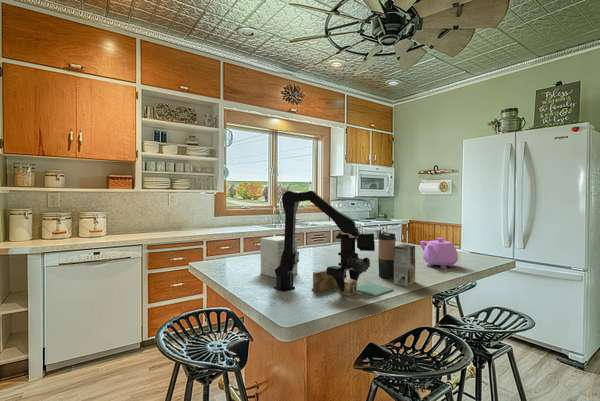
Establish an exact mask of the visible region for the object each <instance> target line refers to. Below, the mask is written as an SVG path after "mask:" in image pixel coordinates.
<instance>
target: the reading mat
mask: <svg viewBox="0 0 600 401" xmlns="http://www.w3.org/2000/svg"><path fill="white" fill-rule="evenodd" d="M393 291H394V288H391V287H388V286H383V285H380V284H376V283H372V282H367V283H363V284H359V285H357V293H361V294H365V295H367V296H372V297H374V298H375V297H379V296H381V295H382V296H383V295H384V294H388V293H389V292H390V293H391V292H393Z"/></svg>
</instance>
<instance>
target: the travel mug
mask: <svg viewBox="0 0 600 401" xmlns="http://www.w3.org/2000/svg"><path fill="white" fill-rule="evenodd" d="M395 246H396V234H395V233H391V232H380V233H378V248H377V249H378V250H377V251H378V255H377V256H378V258H377V259H378V277H379V278H381V279H387V280H391V279H394V247H395Z"/></svg>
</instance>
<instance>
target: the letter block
mask: <svg viewBox="0 0 600 401" xmlns="http://www.w3.org/2000/svg"><path fill="white" fill-rule="evenodd" d="M357 286H358V280H353V279H350V277H346V278H345V279H344V292H341V291H340V289H339V288H338V294H341V295H345V296H353V295H356V294H357V293H358V292H357Z"/></svg>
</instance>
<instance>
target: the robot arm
mask: <svg viewBox="0 0 600 401" xmlns="http://www.w3.org/2000/svg"><path fill="white" fill-rule="evenodd" d="M281 201H282V207H283V210H284V236H285V238H284V250H283V253H282V256H281V261H280V265H279V266H278V267H277V268H276V269H275V274H276V278H275V286H273V288H274V289H276V290H279V291H281V292H285V291H290V290H293V289H296V286H294V276H293V273H292V272H291V271H293V268H295V267H296V266H297V267H298V263H299V262H300V252H299V251H297V252H296V250H295V238H296V220H297V218H296V215H297V211H298V208H299V204H300V202H307V201H308V202H310V203H312V204H313V205H314V206H315V207H316V208H318V209H319V210H320V211H321V212H322V213H324V214H325V215H327V216H328V217H329V218H330V219H331V220H332V221H333V222H334V224H335V225H336V227H337V228H338V229H339V230H340V232H339V233H338V234H337V235H336V236H335V237H334V238H335V239H337V240H340V252H337V253H338V254H337V256H340V262H338V264H337V265H338V266H337V265H331V266H327V267H326V269H325V270H326V274H328V275H332V276H333V277H334V279H335V280H336V282H337V284H338V286H337V287H338V290H339V289H340V291H341V292H344V279H345V278H348V275H347V274H346V275H345V271H346V272H348V274H349V279H353V280H357V281H358V280H359V278H360V275H362V274H363V273H366V272H367V270H369V268H370V267H371V261H370V258H369V257H363V258H359V254H358V252H356V248H357V249H358V250H359V251H360V252H362V251H363V252H375V250H376V249H375V248H376V246H375V245H376V243H375V242H376V241H375V233H374V232H371V233H363V232H362V233H361V231H360V230H359V229H358V227H357V225H356V221H355V220H354V219H353V218H352V217H350V216H348V215H346V214H344V213H343V212H340V211H339V210H338V209H337V208H335V207H333V206H332V205H331V204H330V203H328V202H327V201H326V200H325V199H324V198H323V197H321V196H320V195H318V193H317V192H316V191H314V190H308V191H303V192H296V191H293V190H287V191H285V192H284V193H283V194H282V195H281ZM345 268H346V269H345Z"/></svg>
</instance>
